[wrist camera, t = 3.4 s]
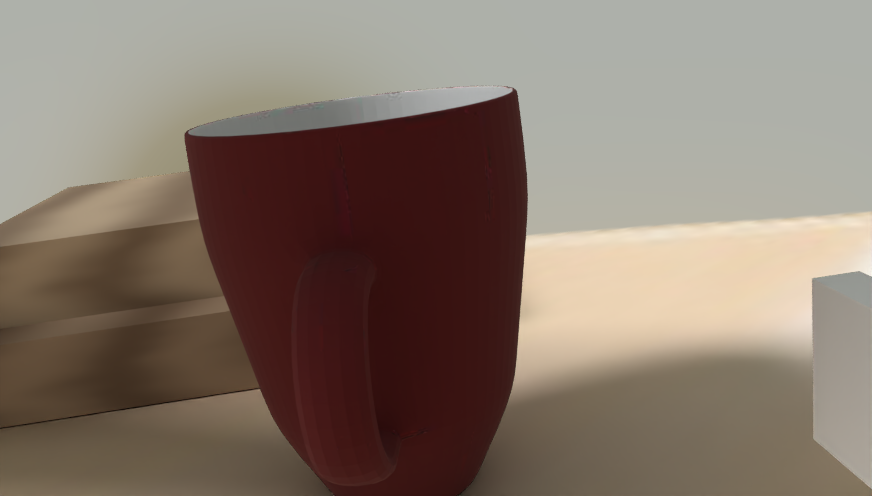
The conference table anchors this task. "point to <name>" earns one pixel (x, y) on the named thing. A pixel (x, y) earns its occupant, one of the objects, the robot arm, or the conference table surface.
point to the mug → (374, 275)
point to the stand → (112, 304)
